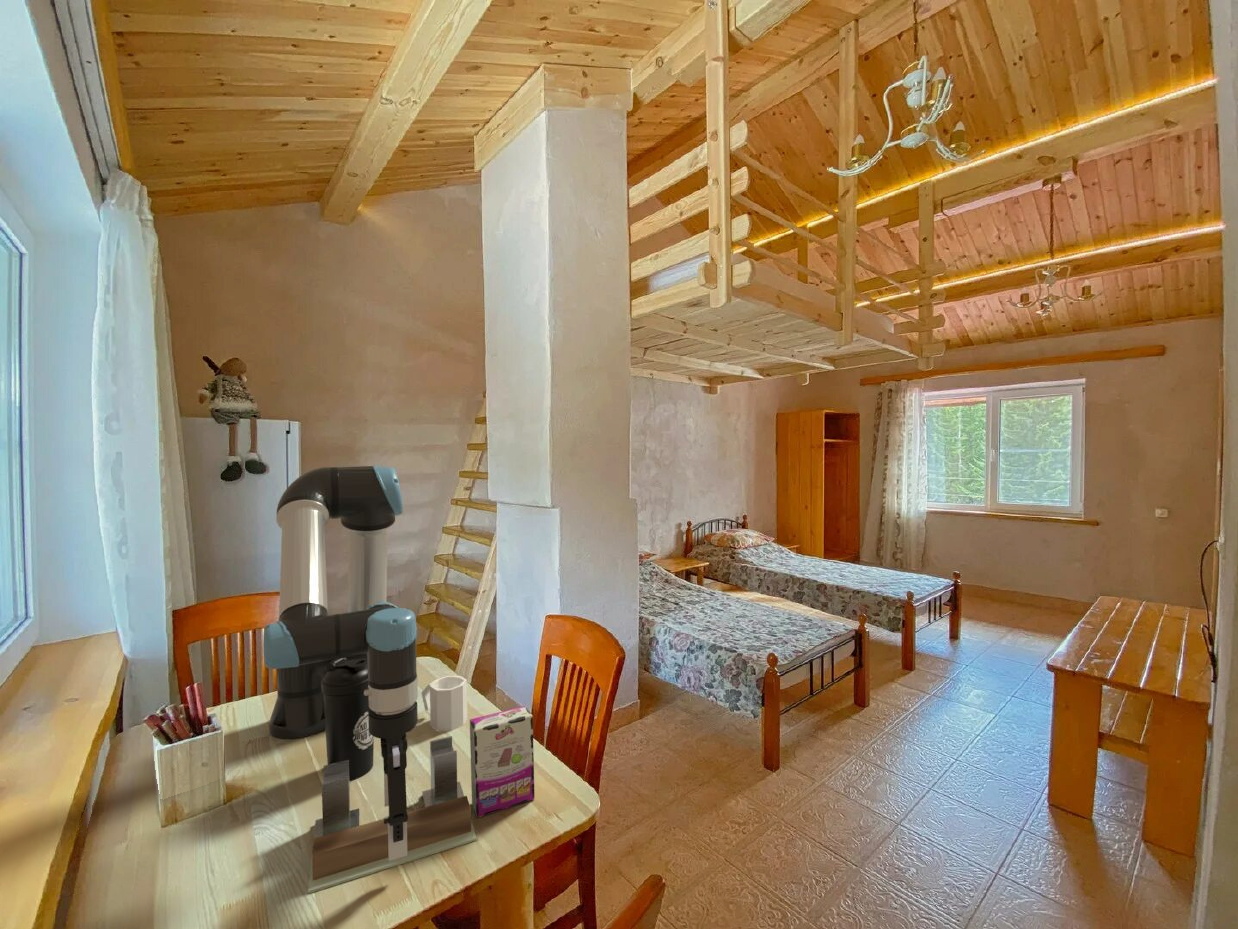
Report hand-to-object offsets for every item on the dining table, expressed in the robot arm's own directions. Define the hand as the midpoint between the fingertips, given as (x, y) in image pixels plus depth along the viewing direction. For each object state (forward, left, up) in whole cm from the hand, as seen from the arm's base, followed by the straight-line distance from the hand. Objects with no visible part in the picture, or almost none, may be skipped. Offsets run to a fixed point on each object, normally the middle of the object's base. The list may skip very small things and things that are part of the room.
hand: (395, 828), depth 90 cm
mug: (-40, +13, -3) cm, 42 cm away
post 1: (-9, -9, -3) cm, 13 cm away
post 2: (-9, +9, -3) cm, 13 cm away
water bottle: (-28, -7, -3) cm, 29 cm away
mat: (0, 0, -3) cm, 3 cm away
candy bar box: (-4, +19, -3) cm, 20 cm away
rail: (0, 0, -3) cm, 3 cm away
